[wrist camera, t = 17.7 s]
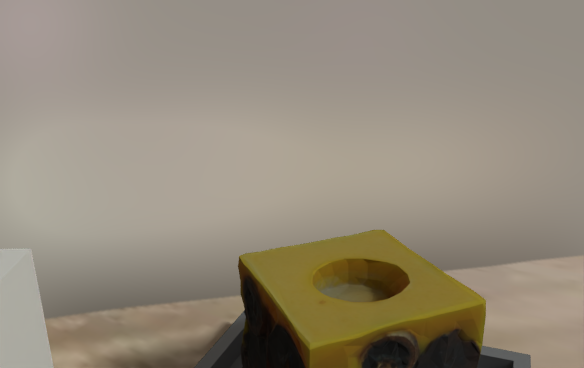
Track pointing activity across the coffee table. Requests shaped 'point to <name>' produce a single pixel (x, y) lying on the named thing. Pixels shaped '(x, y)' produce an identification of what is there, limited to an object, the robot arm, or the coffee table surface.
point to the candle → (356, 308)
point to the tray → (227, 364)
